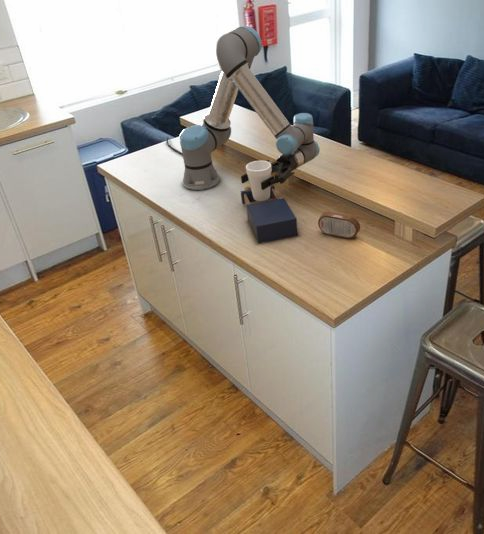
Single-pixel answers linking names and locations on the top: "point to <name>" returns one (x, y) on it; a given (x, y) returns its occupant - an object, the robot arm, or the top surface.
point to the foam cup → (259, 178)
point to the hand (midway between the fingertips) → (251, 183)
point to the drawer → (248, 198)
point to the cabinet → (271, 220)
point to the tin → (338, 225)
